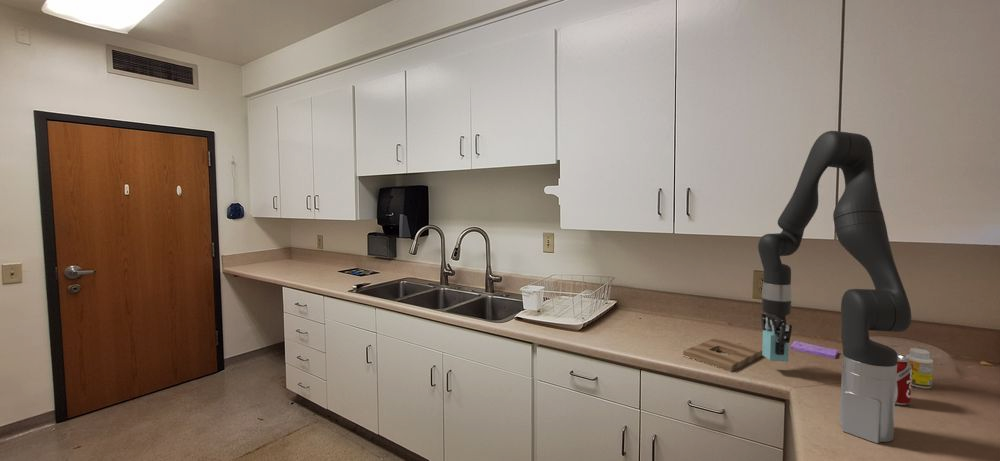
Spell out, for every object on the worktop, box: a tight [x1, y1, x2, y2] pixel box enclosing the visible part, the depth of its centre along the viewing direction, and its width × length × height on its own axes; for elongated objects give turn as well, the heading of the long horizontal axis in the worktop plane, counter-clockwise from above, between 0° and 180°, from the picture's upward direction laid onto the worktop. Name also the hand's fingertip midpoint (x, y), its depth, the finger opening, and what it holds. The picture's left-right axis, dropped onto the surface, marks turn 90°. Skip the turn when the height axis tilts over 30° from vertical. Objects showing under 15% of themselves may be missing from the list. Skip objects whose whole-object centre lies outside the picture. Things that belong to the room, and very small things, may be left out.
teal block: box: [761, 330, 790, 363], centre depth 125 cm, size 5×5×8 cm
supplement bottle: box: [905, 347, 934, 389], centre depth 115 cm, size 6×6×10 cm
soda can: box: [895, 354, 912, 406], centre depth 106 cm, size 7×7×12 cm
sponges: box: [790, 340, 839, 359], centre depth 142 cm, size 7×13×2 cm, turn 42°
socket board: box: [682, 337, 763, 373], centre depth 138 cm, size 22×16×2 cm
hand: (774, 350), depth 125 cm, fingers closed on teal block, 5 cm apart
